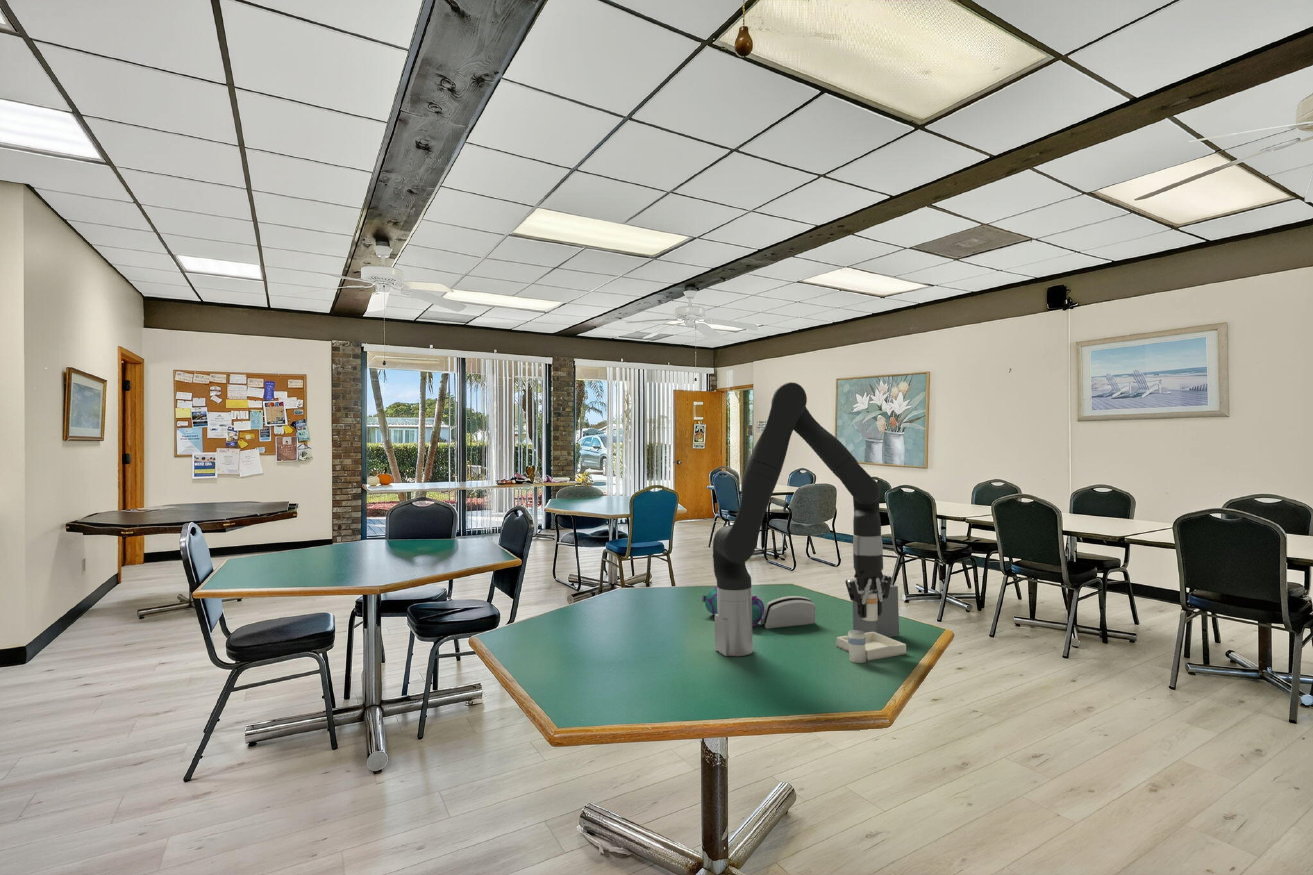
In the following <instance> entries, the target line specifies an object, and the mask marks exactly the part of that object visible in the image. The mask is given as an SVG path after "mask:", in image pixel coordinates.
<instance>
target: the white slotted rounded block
mask: <svg viewBox="0 0 1313 875" xmlns="http://www.w3.org/2000/svg"><path fill="white" fill-rule="evenodd" d="M816 608H817V607H816V603H815V602H813V600H811V599H810V598H808V597H806V596H800V595H789V596H782V597H779V598H775V599H772V600H770V601H768V602H767V603H766V605H765V608H764V615H763V617H762V619H761V620H760V621H759V623H760V624H759V625H764V628H765V629H774V628H783V627H785V628H786V627H792V626H803V625H811V624H813V625H814V624H816Z"/></svg>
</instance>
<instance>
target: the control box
mask: <svg viewBox="0 0 1313 875" xmlns="http://www.w3.org/2000/svg"><path fill="white" fill-rule="evenodd" d="M880 584H881V582H880ZM856 585H858V584H857V583H856ZM856 588H857V587H856ZM862 591H864V590H862ZM884 591H885V589H884ZM899 611H900V610H899V586H898V585H894V584H891V585H890V590H889V595H888V598H887V599H886V598H885V599H883V601H882V613H881V616H878V620H877V621H866V620H863V619H862V618H861V617H859V615H858V609H857V602H855V601H852V625H853V626H852V629H853V630H858V631H863V632H865V633H868V632H875V633H878V634H881V635H883V636H886V637H888V638H892V637H899V636H900V619H899V618H900V616H899V614H900V613H899Z"/></svg>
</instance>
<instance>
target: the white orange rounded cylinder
mask: <svg viewBox="0 0 1313 875" xmlns="http://www.w3.org/2000/svg"><path fill="white" fill-rule="evenodd" d="M861 598H862V596H861ZM877 603H878V597H877V593H876V592H873V591H869V594H868V596H867V597H866V602H865V604H866V618H862V619H863V620H866V621H877V620H878V607H877Z"/></svg>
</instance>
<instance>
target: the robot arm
mask: <svg viewBox="0 0 1313 875" xmlns="http://www.w3.org/2000/svg"><path fill="white" fill-rule="evenodd" d="M807 402H808V398H807V393H806V391H805V389H804V387H803V386H802V385H801V384H800V383H797V382H794V381H793V382H792V381H791V382H785V383H783V384H782V385H780V386H779V387H777V389H775V391H774V393H773V395H772V398H771V407H770V410H769V412H768V413H769V414H768V417H767V421H766V423H765V426H764V428H763V430H762V432H761V434H760V435H759V438H758V440H757V442H756V444H755V446H754V448H753V449H752V451H751V454H750V457H749V459H748V461H747V463H746V466H745V469H744V472H743V474H742V478H741V485H740V504H739V509H738V511H737V514H736V517H735V518H734V521H733V524H732V525H724V526H722V527H720V528H719V529H717V531H716V532H715V534H714V537H713V540H712V559H713V561H712V562H713V572H714V576H715V579H716V587H717V610H718V614H715V615H714V646H715V647H714V648H715V649H716V652H718V651H719V652H718V653H720V654H721V655H723V656H724V657H743V656H744V657H745V656H748V655H751V654H752V653H753V651H754V649H753V648H754V641H753V634H754V633H753V626H752V596H753V595H752V592H753V591H752V577H751V575H750V573H749V570H748V569H747V566H746V562H748V561H749V560H750V559H751V557H753V554H754V552H755V551H756V547H757V543H758V539H759V535H760V531H761V528H762V524H763V521H764V517H765V514H766V512H767V509H768V507H769V504H770V503H771V498H772V496H773V492H774V491H775V488H776V486H777V483H778V481H779V478H780V476H781V473H782V469H783V466H784V464H785V460H786V456H787V452H788V448H789V444H790V440H791V436H792V434H793V431H794V432H795V433H796V434H797V435H798V436H799V437H800V438H802V440H804V442H806V444H808V446H809V447H810V448H811V449H812V450H813V451H814V453H816V455H817V456H818V458H819V459H821V462H823V463H824V465H825V466H826V467H827V468H828V469H829V470H830V471H831V472H832V473H833V475H834V476H835V477H837V478H838V479H839V481H840V482H841V483H842V484H843V486H844V487H845V489H846V490H847V491H848V493H849V494H850V495H851V496H852V501H853V502H852V504H853V520H852V523H853V528H852V529H853V537H852V538H853V539H852V556H853V558H852V559H853V560H852V561H853V562H852V563H853V569H854V571H855V573H854V577H853V578H851V579H845V581H844V582H845V586H846V589H847V592H848V593H847V594H848V595H849V596H848V597H849V599H850V601H852V602H853V601H855V602H857V609H858V615H859V617H861V618H866V604H865V602H866V597H867V596H868V594H869V591H873V592H876V593H877V597H878V603H877V607H878V616H881V613H882V601H883V599H885V598H886V599H887V598H888V595H889V590H890V585H892V580H893V579H892V576H889V575H886V574H884V573H883V572H882V571H883V570H884V548H883V540H882V539H883V538H882V523H881V516H880V515H881V514H880V494H881V487H880V485H879V483H878V482H877V480H875V479H874V478H873V477H872V476H871V475H870V474H869V473H868V472H867V471H866V470H865V469H864V468H863V467H862V466H861V465H860V463H859V462H858V460H857V459H856V457H855V456H854V455H853V454H852V453H851V451H850V450H849V449H847V447H846V446H845V445H844V444H843V443H842V442H841V441H840V440H839V439H838V438H837V437H836V436H834V435H833V434H832V433H830V432H829V431H828V430H826V429H825V427H823V426H822V425H821V424H820V423H819V422H818V421H817V420H816V419H815V418H814V417H813V416H812V414H811V412H810V411H809V410H808V408H807ZM880 582H881V584H880ZM856 583H857V584H858V585H856ZM856 587H857V588H856ZM884 589H885V591H884ZM862 590H864V591H862ZM861 596H862V598H861ZM715 649H714V650H715Z"/></svg>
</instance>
